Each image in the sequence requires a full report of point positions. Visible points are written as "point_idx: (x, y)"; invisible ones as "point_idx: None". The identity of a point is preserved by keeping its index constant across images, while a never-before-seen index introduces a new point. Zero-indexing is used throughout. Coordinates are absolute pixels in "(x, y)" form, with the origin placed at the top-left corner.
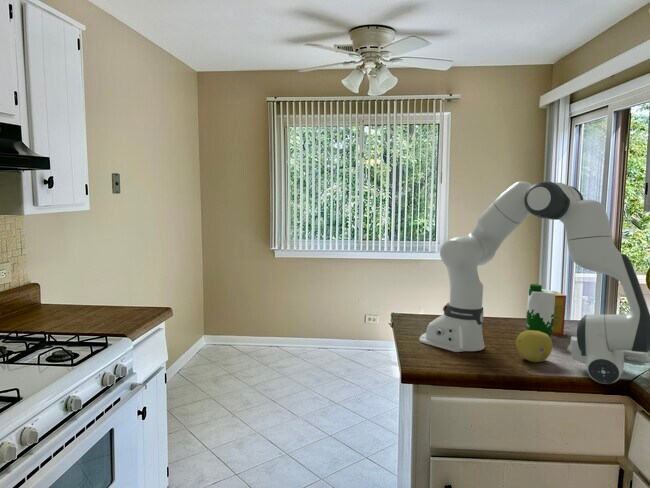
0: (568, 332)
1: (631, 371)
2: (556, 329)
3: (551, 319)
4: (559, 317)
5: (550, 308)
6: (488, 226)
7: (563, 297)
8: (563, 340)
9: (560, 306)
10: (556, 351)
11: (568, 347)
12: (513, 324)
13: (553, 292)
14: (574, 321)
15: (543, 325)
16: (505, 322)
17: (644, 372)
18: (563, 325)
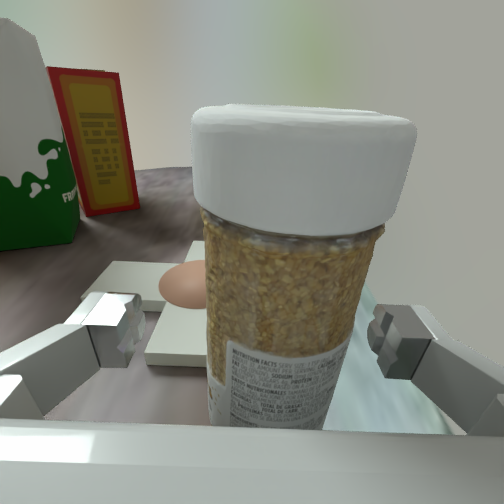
0: (160, 196)
1: None
2: (114, 195)
3: (46, 162)
4: (113, 155)
5: (15, 108)
6: None
7: (109, 79)
8: (123, 232)
9: (107, 115)
10: (9, 338)
11: (90, 288)
12: None
13: (16, 24)
14: (189, 167)
15: (9, 192)
16: None
17: None
18: (133, 180)
